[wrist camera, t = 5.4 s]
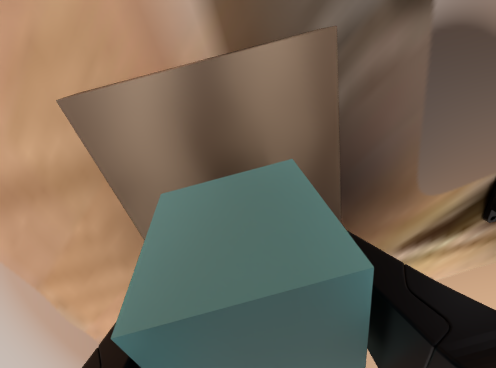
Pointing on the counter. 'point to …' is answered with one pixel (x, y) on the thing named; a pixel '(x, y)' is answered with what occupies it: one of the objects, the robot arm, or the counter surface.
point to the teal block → (247, 279)
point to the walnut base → (216, 121)
